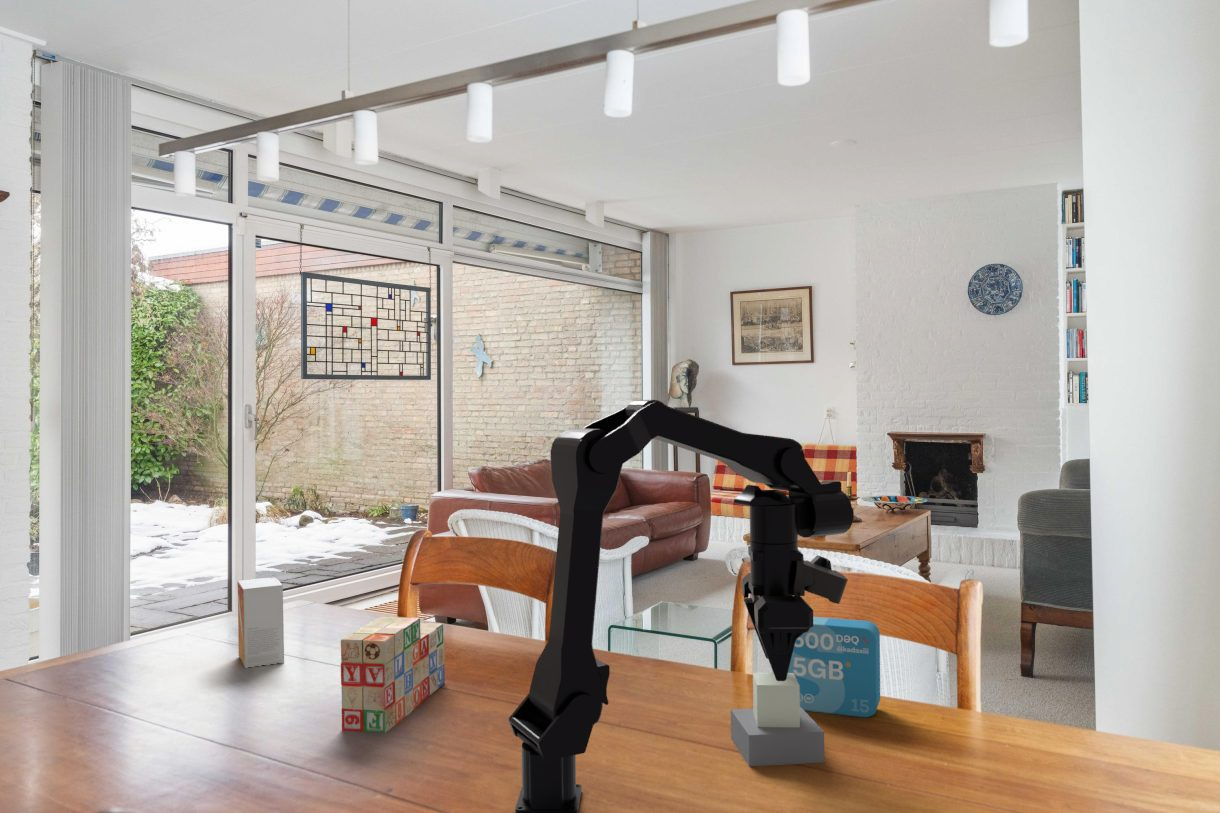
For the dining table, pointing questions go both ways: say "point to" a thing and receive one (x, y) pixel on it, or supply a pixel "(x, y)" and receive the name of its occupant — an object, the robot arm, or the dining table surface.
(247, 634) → the small box
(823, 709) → the data package
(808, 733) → the gray square block
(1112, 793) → the dining table surface
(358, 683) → the stack of blocks
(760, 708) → the sage cube
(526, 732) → the robot arm
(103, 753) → the dining table surface
